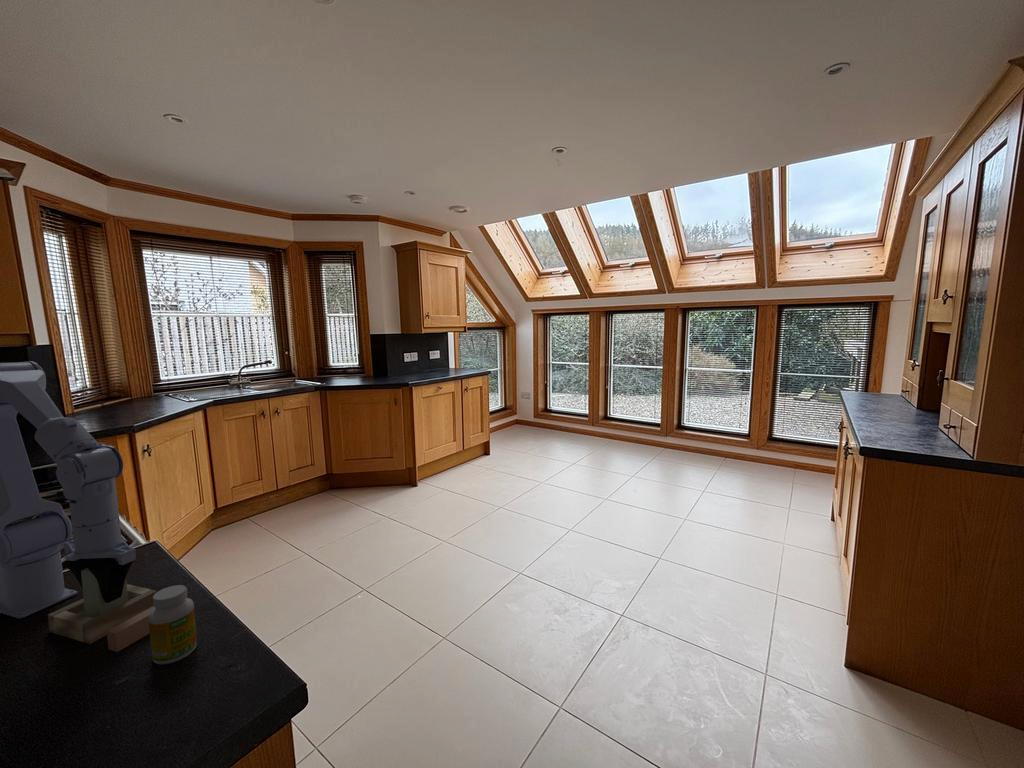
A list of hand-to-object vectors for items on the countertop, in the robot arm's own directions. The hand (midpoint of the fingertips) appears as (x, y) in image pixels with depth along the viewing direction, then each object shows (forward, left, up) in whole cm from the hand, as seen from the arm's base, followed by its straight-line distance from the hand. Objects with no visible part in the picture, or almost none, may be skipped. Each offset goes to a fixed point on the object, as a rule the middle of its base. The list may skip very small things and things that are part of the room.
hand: (104, 597), depth 74 cm
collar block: (0, 0, -4) cm, 4 cm away
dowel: (0, 0, -3) cm, 3 cm away
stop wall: (+10, 0, -4) cm, 11 cm away
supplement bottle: (+20, -2, -4) cm, 21 cm away
